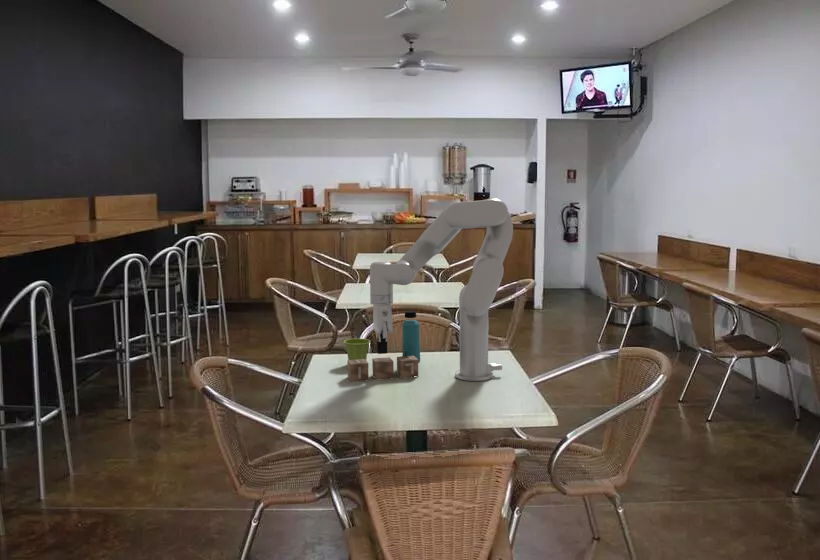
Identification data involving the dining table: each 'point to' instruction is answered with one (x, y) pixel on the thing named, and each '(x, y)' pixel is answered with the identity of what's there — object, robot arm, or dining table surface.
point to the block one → (358, 370)
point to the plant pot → (357, 348)
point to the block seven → (407, 366)
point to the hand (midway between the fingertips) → (382, 353)
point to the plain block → (383, 368)
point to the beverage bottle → (411, 336)
